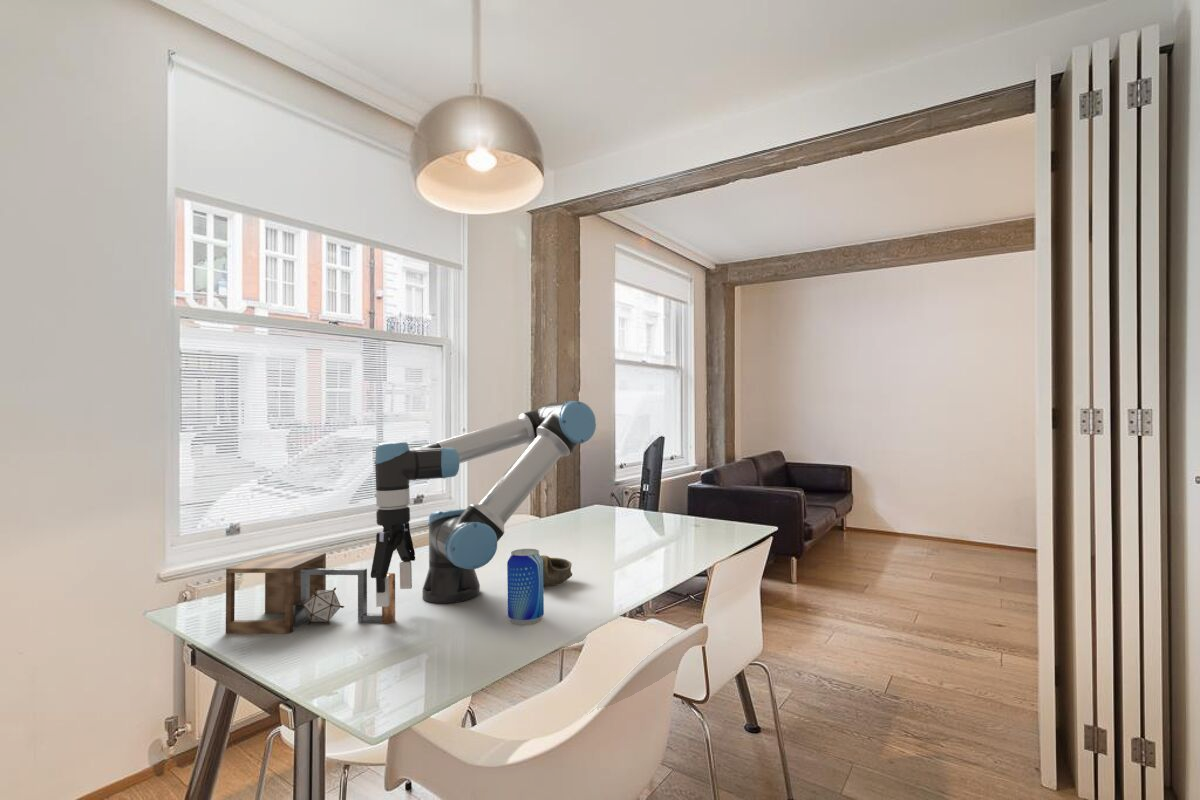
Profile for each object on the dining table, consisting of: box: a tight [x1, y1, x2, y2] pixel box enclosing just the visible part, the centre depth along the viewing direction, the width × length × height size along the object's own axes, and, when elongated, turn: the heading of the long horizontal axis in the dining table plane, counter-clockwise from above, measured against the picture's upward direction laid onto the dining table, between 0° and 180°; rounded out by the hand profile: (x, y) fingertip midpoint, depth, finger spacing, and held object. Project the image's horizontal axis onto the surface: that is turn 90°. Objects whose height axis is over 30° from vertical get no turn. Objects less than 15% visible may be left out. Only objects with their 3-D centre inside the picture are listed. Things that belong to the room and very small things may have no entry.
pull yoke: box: [293, 567, 396, 628], centre depth 138 cm, size 23×10×12 cm, turn 84°
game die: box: [299, 587, 345, 626], centre depth 137 cm, size 9×8×10 cm
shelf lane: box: [225, 552, 327, 634], centre depth 139 cm, size 15×15×14 cm
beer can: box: [506, 548, 545, 626], centre depth 137 cm, size 8×8×16 cm
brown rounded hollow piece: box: [540, 554, 573, 587], centre depth 166 cm, size 14×18×10 cm
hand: (395, 596), depth 138 cm, fingers open, 13 cm apart
